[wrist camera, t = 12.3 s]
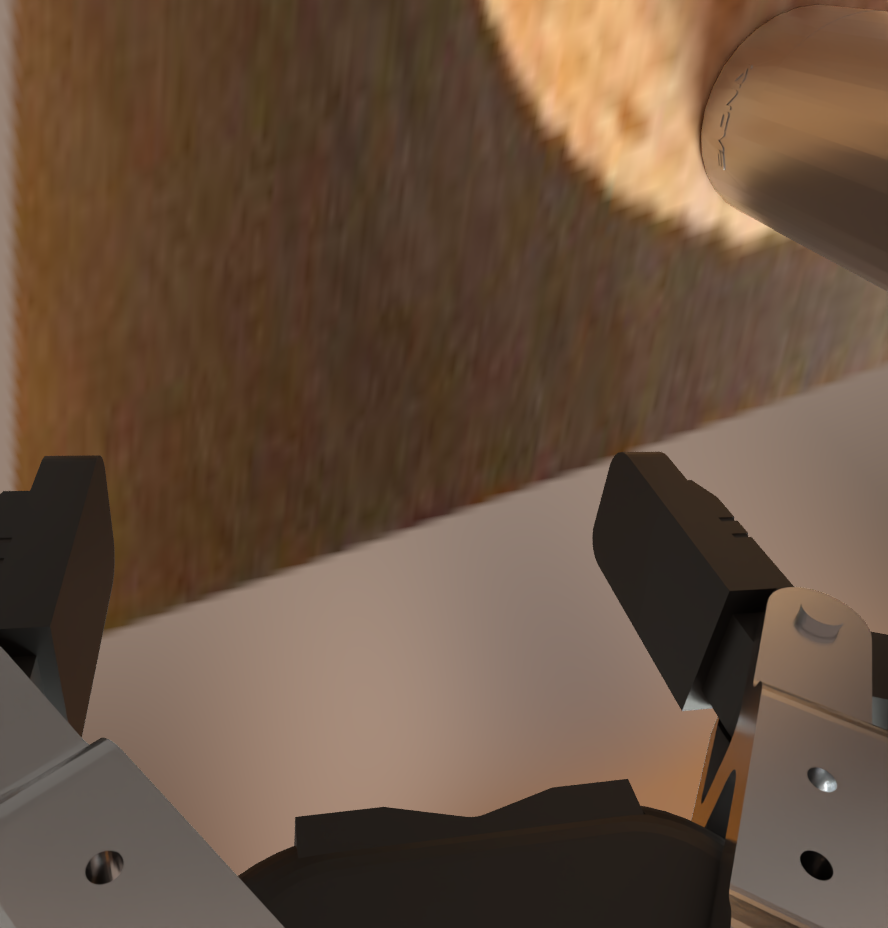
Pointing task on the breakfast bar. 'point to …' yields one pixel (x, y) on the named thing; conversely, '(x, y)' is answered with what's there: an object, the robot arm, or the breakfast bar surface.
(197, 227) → the breakfast bar surface
